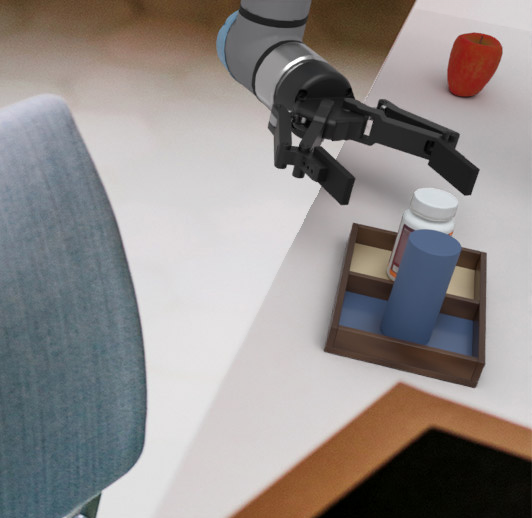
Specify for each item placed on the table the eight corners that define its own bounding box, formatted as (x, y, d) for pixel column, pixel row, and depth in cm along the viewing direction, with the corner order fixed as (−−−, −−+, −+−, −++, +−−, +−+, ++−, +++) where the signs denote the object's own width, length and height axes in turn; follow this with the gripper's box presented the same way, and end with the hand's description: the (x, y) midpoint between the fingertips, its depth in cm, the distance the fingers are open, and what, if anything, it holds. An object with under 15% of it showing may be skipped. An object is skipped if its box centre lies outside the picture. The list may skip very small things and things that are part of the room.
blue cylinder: (431, 325, 106) (462, 236, 100) (428, 351, 103) (461, 260, 97) (382, 313, 107) (410, 224, 101) (378, 338, 103) (407, 248, 98)
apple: (483, 108, 150) (503, 49, 145) (435, 95, 151) (453, 37, 147) (490, 91, 154) (510, 34, 150) (443, 79, 156) (461, 22, 151)
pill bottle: (442, 292, 111) (470, 211, 106) (393, 289, 110) (419, 208, 105) (426, 265, 115) (453, 186, 109) (379, 263, 114) (403, 183, 109)
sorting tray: (478, 275, 116) (487, 252, 114) (475, 388, 100) (485, 363, 99) (346, 245, 118) (353, 222, 116) (323, 351, 102) (331, 326, 101)
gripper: (395, 121, 132) (508, 213, 117) (191, 131, 124) (284, 232, 109) (414, 55, 127) (534, 142, 112) (204, 61, 119) (303, 157, 104)
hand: (411, 187), depth 111 cm, fingers open, 13 cm apart
